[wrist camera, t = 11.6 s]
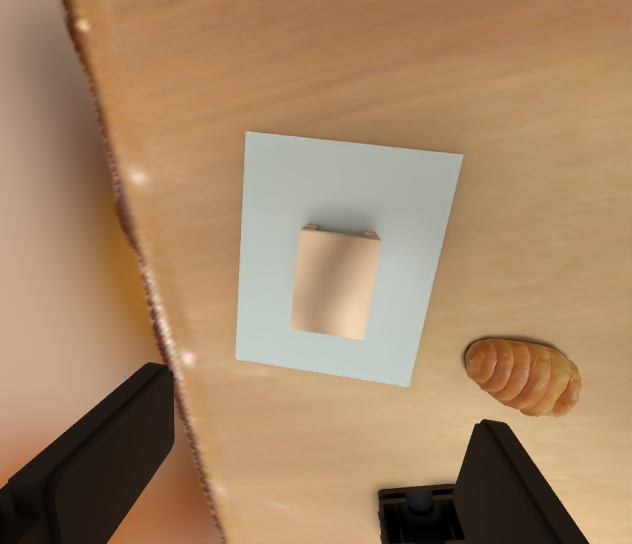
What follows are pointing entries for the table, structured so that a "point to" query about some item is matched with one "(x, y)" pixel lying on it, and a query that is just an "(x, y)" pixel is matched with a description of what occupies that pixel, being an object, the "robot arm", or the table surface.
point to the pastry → (525, 376)
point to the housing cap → (334, 282)
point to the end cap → (419, 516)
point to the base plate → (344, 218)
